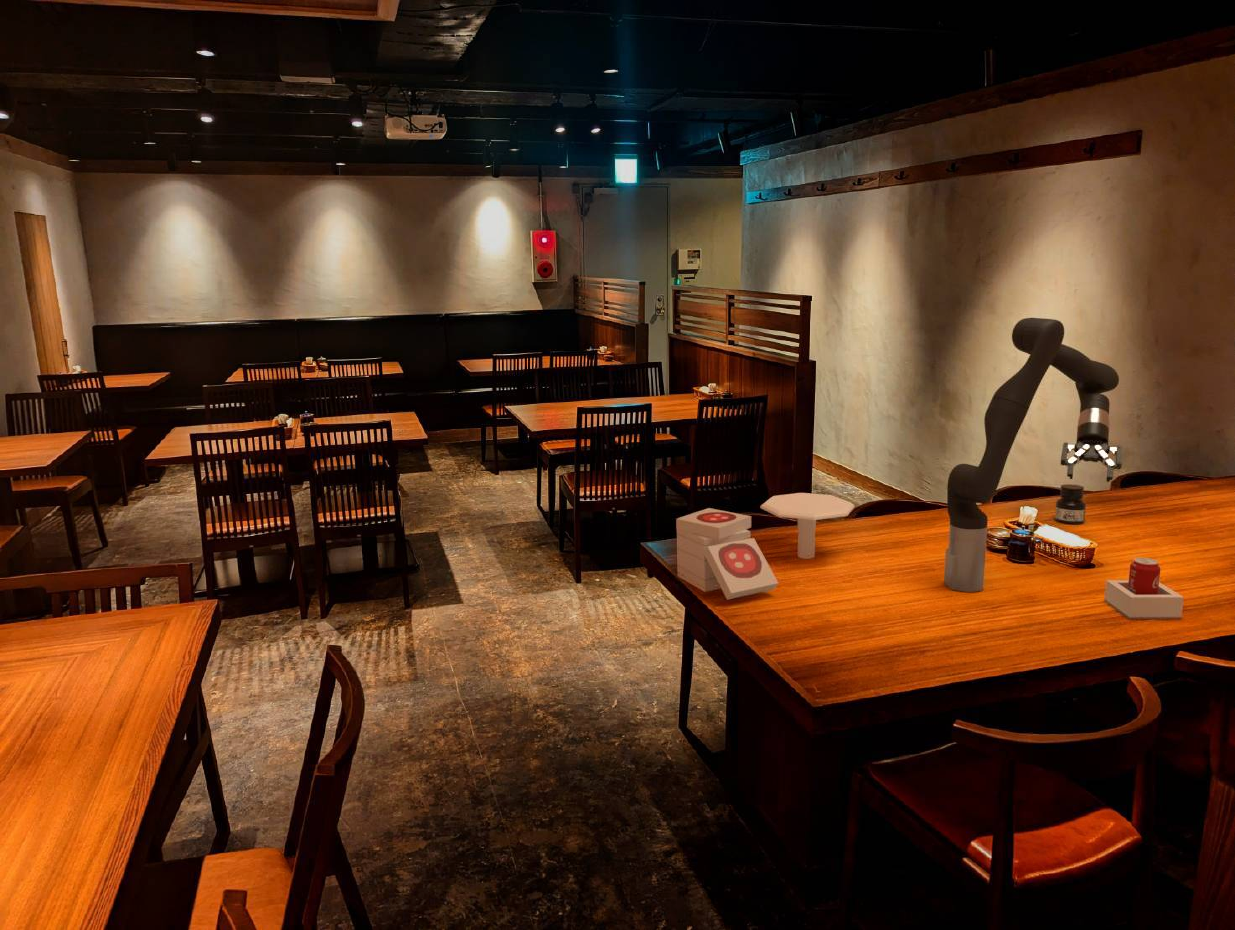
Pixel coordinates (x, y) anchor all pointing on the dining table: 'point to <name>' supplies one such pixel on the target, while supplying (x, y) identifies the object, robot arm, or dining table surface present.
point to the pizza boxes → (721, 554)
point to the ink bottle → (1070, 505)
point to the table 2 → (807, 514)
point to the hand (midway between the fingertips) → (1089, 478)
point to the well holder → (1143, 602)
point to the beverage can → (1144, 577)
